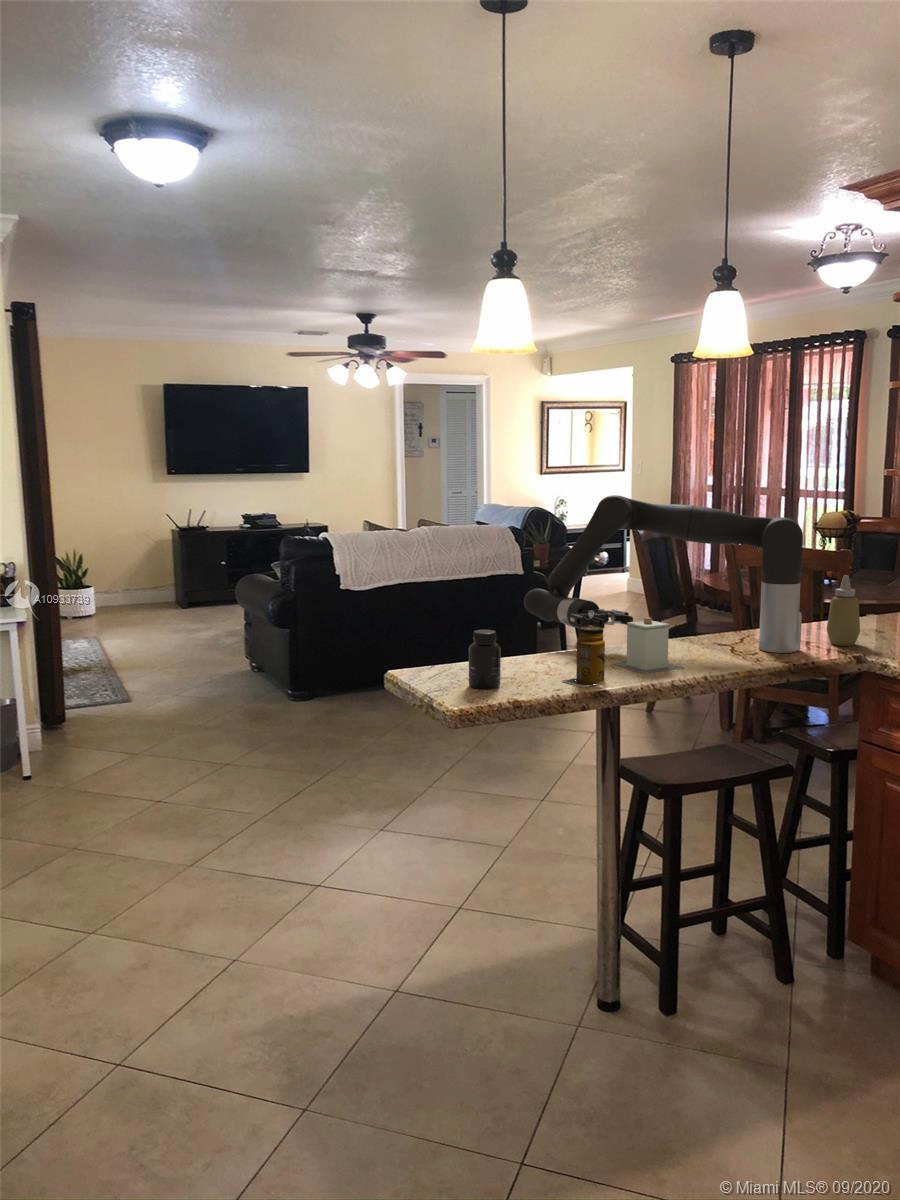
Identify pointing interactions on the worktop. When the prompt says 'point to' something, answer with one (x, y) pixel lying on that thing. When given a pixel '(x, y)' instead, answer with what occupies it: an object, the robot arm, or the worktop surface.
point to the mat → (670, 667)
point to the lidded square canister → (647, 644)
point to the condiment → (589, 657)
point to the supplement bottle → (484, 661)
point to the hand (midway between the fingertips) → (617, 622)
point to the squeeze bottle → (844, 616)
